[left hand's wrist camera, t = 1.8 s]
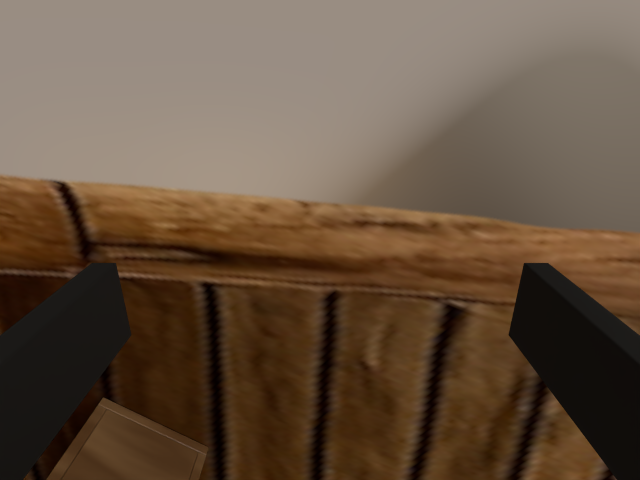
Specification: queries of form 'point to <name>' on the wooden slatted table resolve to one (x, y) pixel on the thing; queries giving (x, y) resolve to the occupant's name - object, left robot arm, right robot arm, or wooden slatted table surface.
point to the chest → (128, 449)
